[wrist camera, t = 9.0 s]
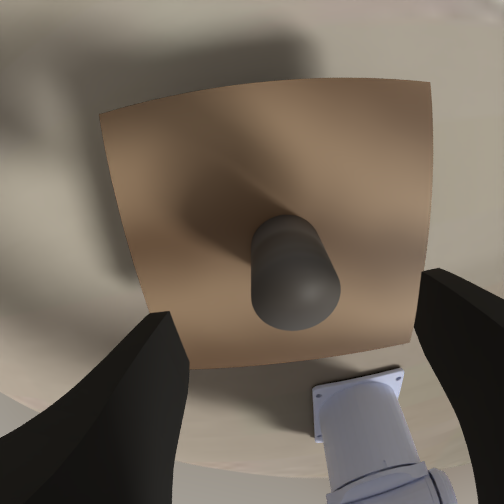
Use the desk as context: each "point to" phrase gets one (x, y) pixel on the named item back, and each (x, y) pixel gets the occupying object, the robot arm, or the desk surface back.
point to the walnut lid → (278, 214)
